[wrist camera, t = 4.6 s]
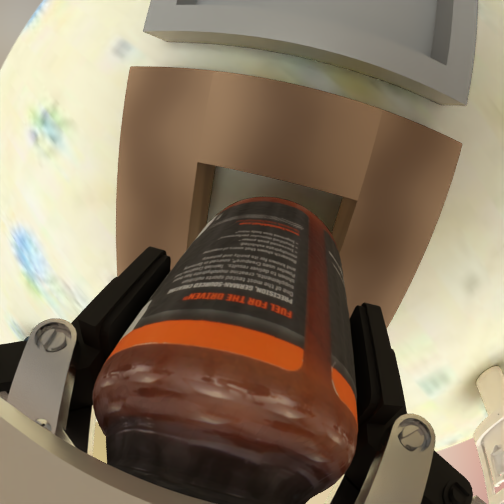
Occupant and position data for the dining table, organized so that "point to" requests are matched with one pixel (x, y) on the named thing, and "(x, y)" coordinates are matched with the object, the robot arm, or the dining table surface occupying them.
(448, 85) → the tray
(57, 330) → the robot arm
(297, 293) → the supplement bottle
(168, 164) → the socket block
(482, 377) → the white cylindrical cage holder
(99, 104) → the dining table surface
